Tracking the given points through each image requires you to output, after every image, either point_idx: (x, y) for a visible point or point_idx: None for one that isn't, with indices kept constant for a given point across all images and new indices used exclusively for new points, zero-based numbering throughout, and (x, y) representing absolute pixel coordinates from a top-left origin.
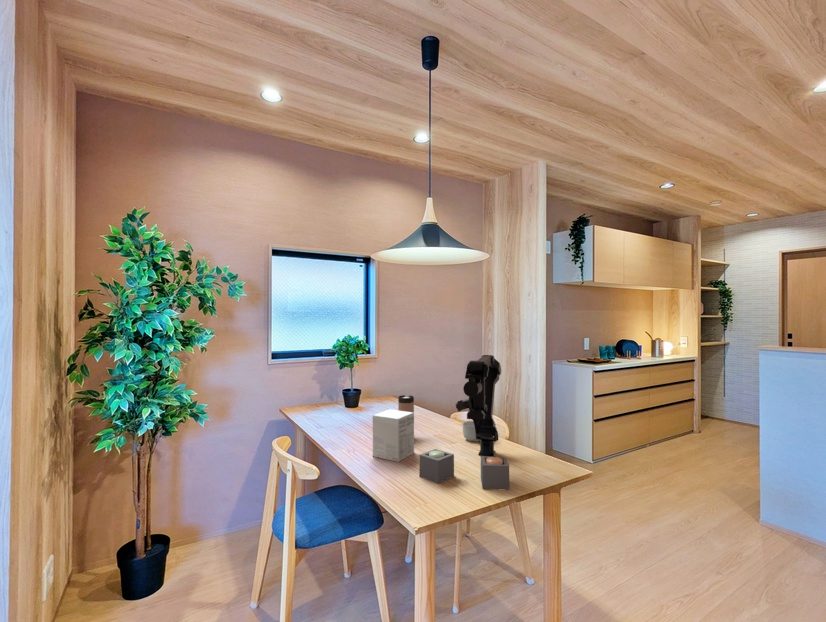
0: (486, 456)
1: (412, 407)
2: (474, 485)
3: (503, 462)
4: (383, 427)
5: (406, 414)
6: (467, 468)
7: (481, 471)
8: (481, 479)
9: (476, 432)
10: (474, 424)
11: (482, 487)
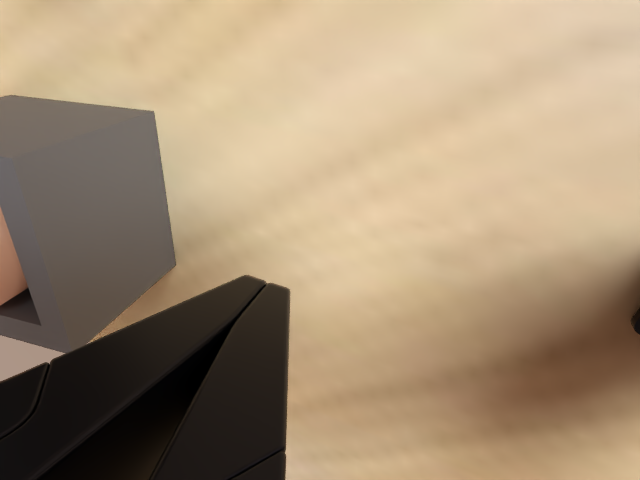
0: (27, 213)
1: None
2: (38, 46)
3: (11, 305)
4: None
5: None
6: (344, 21)
7: (14, 120)
8: (69, 108)
9: (236, 288)
10: (6, 387)
11: (7, 96)
